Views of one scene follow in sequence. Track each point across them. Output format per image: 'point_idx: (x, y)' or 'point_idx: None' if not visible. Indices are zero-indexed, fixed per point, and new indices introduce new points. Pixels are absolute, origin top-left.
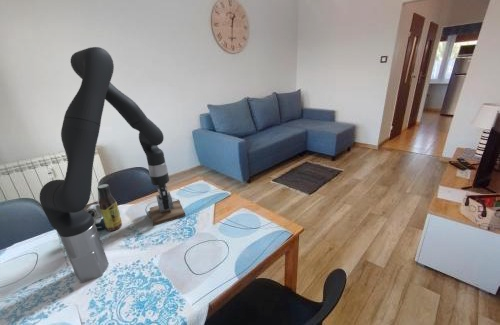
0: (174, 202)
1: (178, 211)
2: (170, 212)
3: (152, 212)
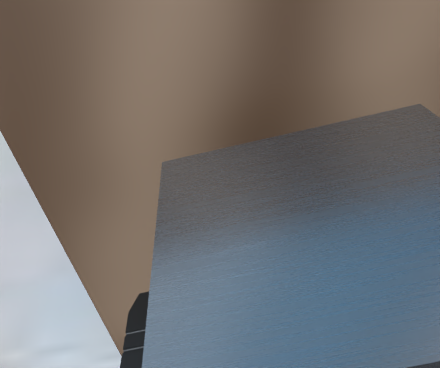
0: (45, 98)
1: (434, 4)
2: None
3: None
